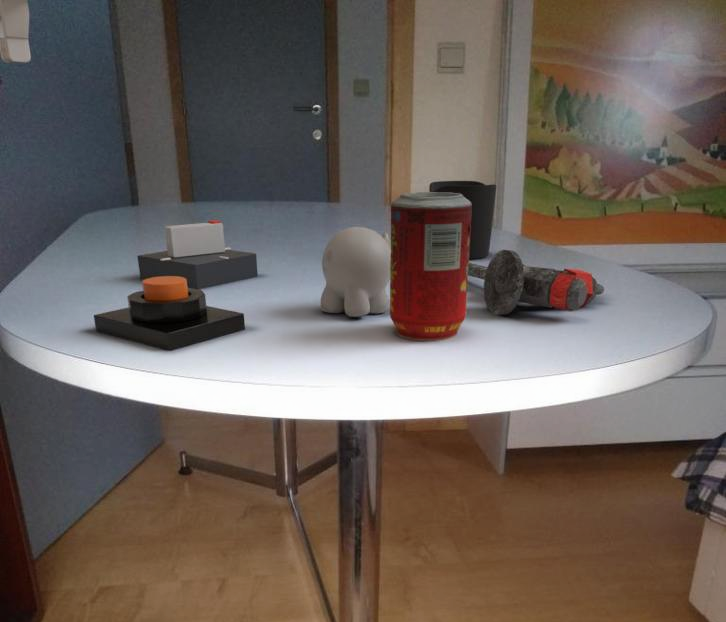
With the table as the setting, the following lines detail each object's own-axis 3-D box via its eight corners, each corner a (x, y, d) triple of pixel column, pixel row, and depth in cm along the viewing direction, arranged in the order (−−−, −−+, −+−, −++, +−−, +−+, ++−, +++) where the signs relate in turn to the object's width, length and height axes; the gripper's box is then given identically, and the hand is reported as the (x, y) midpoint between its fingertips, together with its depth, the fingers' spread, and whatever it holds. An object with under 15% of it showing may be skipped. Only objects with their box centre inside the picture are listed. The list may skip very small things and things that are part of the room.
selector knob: (173, 257, 88) (169, 225, 87) (167, 256, 89) (163, 224, 88) (225, 252, 92) (222, 221, 90) (218, 250, 93) (216, 219, 92)
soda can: (480, 337, 66) (489, 194, 61) (414, 348, 63) (417, 199, 58) (438, 321, 72) (443, 189, 66) (376, 330, 69) (375, 193, 64)
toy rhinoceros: (437, 305, 78) (440, 222, 74) (355, 325, 71) (354, 234, 67) (390, 295, 83) (390, 217, 79) (309, 312, 75) (305, 227, 72)
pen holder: (498, 253, 108) (504, 181, 104) (480, 263, 101) (485, 186, 96) (439, 249, 112) (442, 180, 107) (417, 259, 104) (419, 184, 100)
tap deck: (136, 280, 91) (132, 254, 90) (204, 267, 99) (201, 243, 98) (194, 291, 85) (191, 264, 84) (261, 276, 93) (260, 251, 92)
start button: (135, 300, 67) (133, 281, 66) (170, 292, 70) (167, 274, 69) (163, 306, 65) (160, 286, 64) (197, 298, 68) (195, 279, 67)
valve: (649, 334, 74) (524, 326, 68) (516, 295, 96) (414, 286, 90) (666, 270, 71) (538, 256, 66) (525, 245, 94) (421, 233, 88)
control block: (96, 332, 69) (89, 295, 67) (171, 314, 75) (167, 280, 73) (170, 352, 63) (165, 312, 61) (245, 331, 69) (242, 294, 67)
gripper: (-84, -120, 63) (-46, 63, 69) (-35, -183, 48) (6, 56, 55) (-6, -107, 66) (23, 66, 73) (61, -161, 52) (90, 61, 58)
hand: (16, 62), depth 64 cm, fingers closed
